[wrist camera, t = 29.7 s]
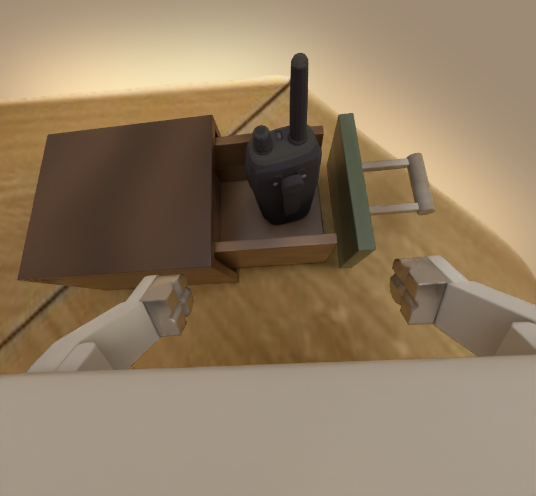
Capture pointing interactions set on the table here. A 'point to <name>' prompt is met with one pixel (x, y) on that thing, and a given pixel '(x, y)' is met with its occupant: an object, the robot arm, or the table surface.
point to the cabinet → (126, 207)
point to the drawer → (310, 227)
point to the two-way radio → (286, 157)
